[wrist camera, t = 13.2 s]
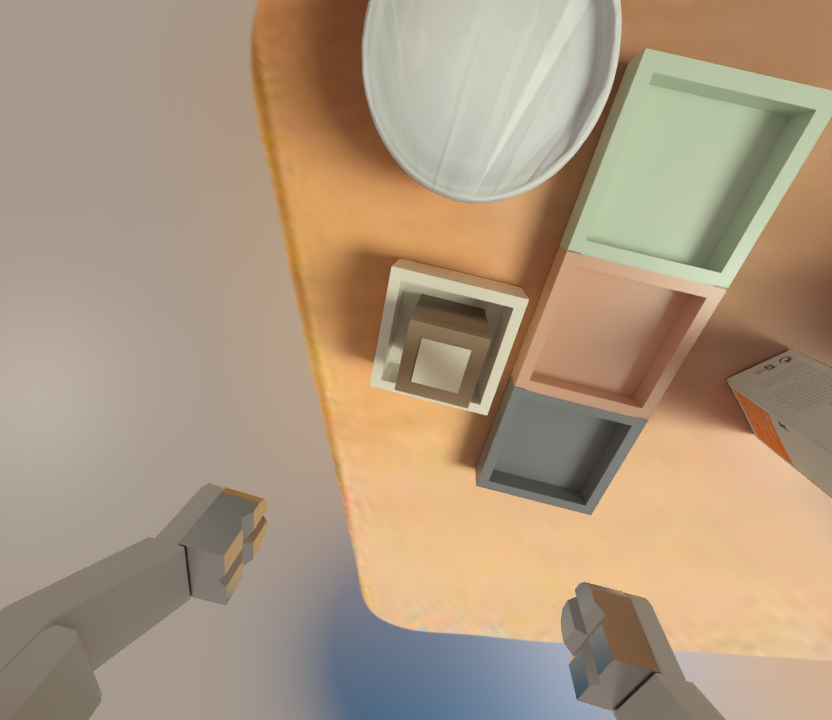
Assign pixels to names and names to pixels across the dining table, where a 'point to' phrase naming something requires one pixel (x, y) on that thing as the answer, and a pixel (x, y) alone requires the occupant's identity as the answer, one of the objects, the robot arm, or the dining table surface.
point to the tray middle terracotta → (611, 334)
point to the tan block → (443, 351)
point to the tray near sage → (692, 166)
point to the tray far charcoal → (554, 449)
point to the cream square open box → (420, 278)
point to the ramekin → (487, 88)
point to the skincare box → (791, 411)
